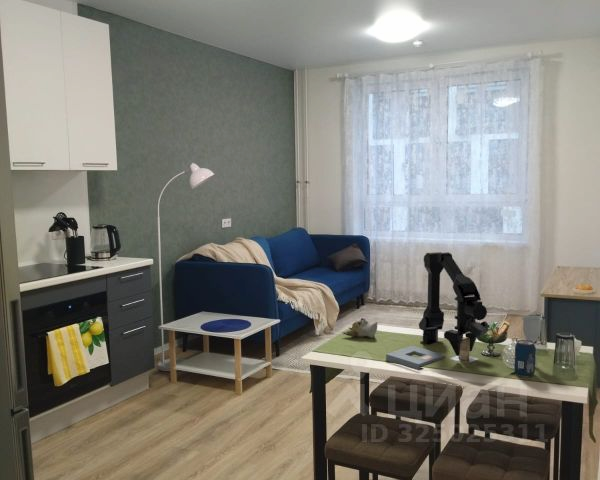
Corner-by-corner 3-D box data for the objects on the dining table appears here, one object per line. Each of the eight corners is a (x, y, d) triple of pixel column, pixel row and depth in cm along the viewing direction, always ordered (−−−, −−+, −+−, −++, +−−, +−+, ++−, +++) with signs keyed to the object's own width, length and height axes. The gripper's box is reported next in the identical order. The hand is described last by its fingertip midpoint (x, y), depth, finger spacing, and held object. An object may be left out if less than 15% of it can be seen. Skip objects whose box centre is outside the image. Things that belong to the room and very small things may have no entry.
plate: (461, 357, 224) (461, 354, 224) (478, 362, 218) (478, 358, 218) (449, 362, 219) (449, 358, 219) (466, 367, 213) (467, 363, 213)
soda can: (519, 369, 210) (520, 338, 209) (538, 374, 205) (539, 341, 204) (510, 374, 205) (511, 342, 204) (529, 379, 200) (530, 346, 199)
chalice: (541, 362, 217) (542, 316, 215) (540, 368, 211) (542, 320, 209) (520, 360, 220) (522, 314, 218) (519, 365, 214) (521, 319, 212)
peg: (462, 356, 221) (462, 336, 220) (471, 358, 218) (471, 338, 217) (456, 358, 219) (456, 338, 218) (465, 361, 216) (465, 340, 215)
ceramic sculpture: (373, 321, 247) (341, 320, 253) (375, 340, 248) (342, 339, 254) (380, 316, 257) (348, 315, 263) (381, 334, 258) (349, 333, 264)
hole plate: (412, 351, 233) (412, 345, 233) (444, 361, 221) (444, 354, 220) (386, 360, 223) (386, 353, 222) (418, 370, 210) (418, 363, 210)
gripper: (469, 322, 204) (468, 364, 206) (497, 313, 216) (496, 353, 218) (443, 316, 213) (442, 356, 215) (471, 308, 225) (470, 346, 227)
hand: (464, 353), depth 218 cm, fingers open, 8 cm apart
